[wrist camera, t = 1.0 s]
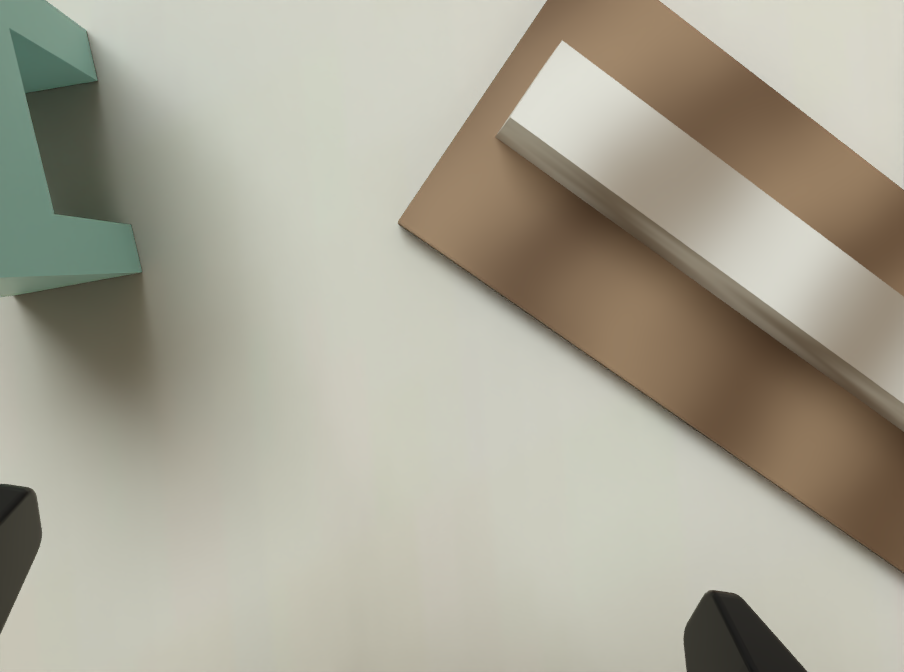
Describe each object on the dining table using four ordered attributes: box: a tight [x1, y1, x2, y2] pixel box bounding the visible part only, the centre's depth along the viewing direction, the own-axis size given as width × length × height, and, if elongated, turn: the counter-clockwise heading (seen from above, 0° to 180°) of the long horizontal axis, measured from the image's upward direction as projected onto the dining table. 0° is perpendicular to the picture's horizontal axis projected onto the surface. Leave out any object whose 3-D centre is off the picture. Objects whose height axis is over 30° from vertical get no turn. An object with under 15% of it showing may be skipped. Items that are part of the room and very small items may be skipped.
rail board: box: [398, 0, 904, 573], centre depth 22 cm, size 26×10×4 cm, turn 55°
